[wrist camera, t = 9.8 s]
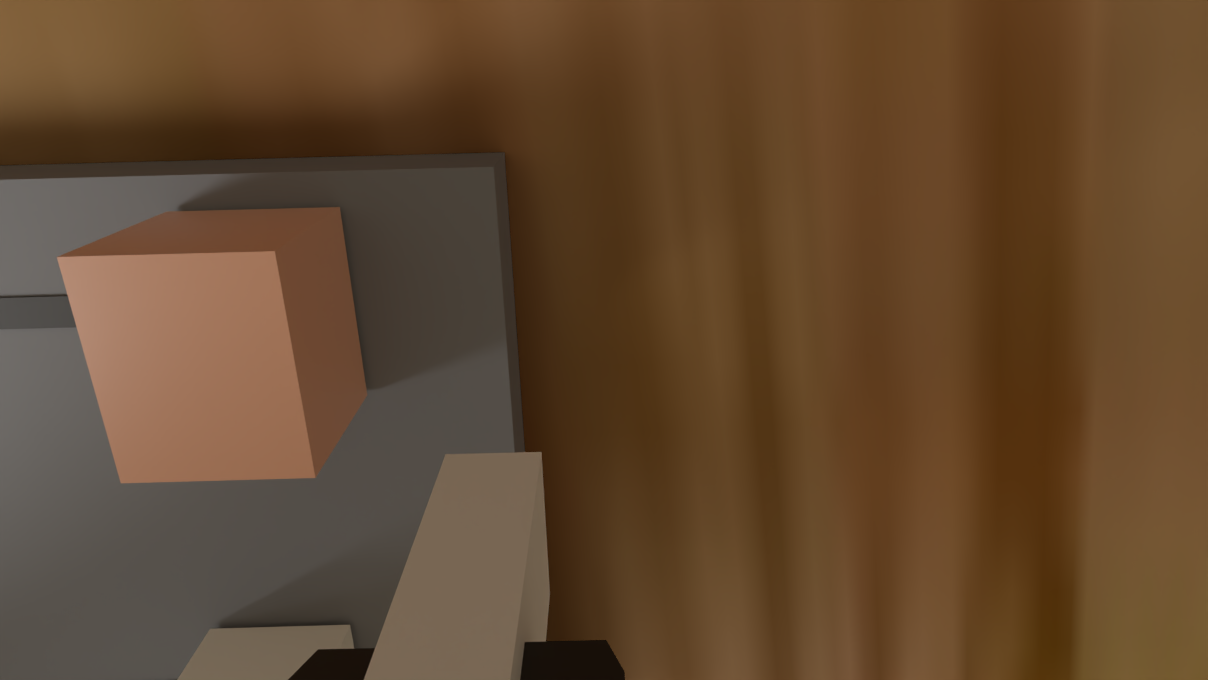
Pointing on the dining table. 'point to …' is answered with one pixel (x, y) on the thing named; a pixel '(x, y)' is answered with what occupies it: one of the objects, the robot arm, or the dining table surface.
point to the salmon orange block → (220, 342)
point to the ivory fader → (261, 651)
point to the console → (243, 507)
